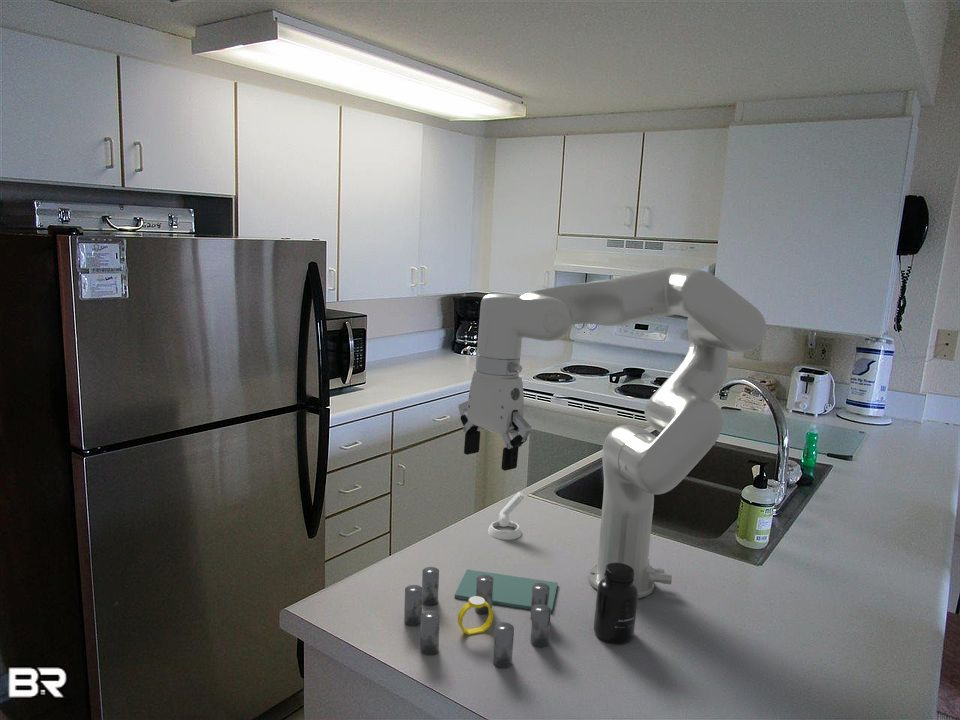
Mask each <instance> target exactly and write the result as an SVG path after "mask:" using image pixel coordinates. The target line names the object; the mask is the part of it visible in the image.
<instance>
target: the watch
mask: <svg viewBox="0 0 960 720" xmlns="http://www.w3.org/2000/svg"><path fill="white" fill-rule="evenodd" d="M483 606H486V607H488V609H489V614H488V616H487V618H486V621H485V622H484V623H483V624H482V625H481V626H478V627H472V628H468V629H467V628H465V627H464V626H463V619H464V616H465V614H466V613H467V611H469V610H470V609H471V608H474V609H475V608H481V607H483ZM493 620H494V609H493V608H492V609H491V607H490V606H489V604H488V603H487V602H486V601H485V599H484V598H482V597H479V596H473V597H470V598H469V600H468V601H467V602H465V604H463V606H462V607H461V608H460V610H459V611H458V614H457V624H458V626H459V628H460V630H461V631H462V633H464V634H466V635H467V636H473V635H476V634H482V633H483V634H484V633H485V632H487V631H488V629H490V627H491V626H492V623H493Z"/></svg>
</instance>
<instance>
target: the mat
mask: <svg viewBox="0 0 960 720" xmlns="http://www.w3.org/2000/svg"><path fill="white" fill-rule="evenodd" d="M480 575H489V576H491V577H493V598H492V605H499V606H505V607H512V608H518V609H519V608H520V609H524V610H525V609H526V610H531V601H532V586H533V585H534V584H535V583H544V584H547V585H548V586H549V587H550V589H549V604H548V606H549V607H550V609H551V614H552V613H553V610H554V609H553V607H554V603H555V600H556V594H557V589H558V584H559V583H558V582H557V581H556V582H555V581H548V580H544V579H543V580H542V579H536V578H530V577H529V578H528V577H523V576H515V575H508V574H501V573H500V574H499V573H494V572H487V571H480V570H475V569H474V570H473V569H468V568H467V569H466V571H465V573H464V574H463V577H462V579H461V580H460V582H459V585H458V587H457V589H456V591H455V594H454V599H461V600H467V601H469V598H470V597H473V596H476V581H477V577H478V576H480Z"/></svg>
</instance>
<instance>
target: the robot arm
mask: <svg viewBox="0 0 960 720" xmlns="http://www.w3.org/2000/svg"><path fill="white" fill-rule="evenodd" d="M479 309H480V310H479V320H478V322H479V323H478V332H477V333H478V334H477V348H476V360H475V370H473V372H472V373H473V374H472V378H471V382H470V387H469V392H468V397H467V399H468V400H466V401H465V402H462V403H460V404H458V411H459V414H460V422H461V423H462V431H463V432H464V433H465V435H464V447H463V454H464V455H467V456H468V455H472V454H478V453H479V451H480V446H481V445H480V442H481V431H480V430H479V429H481V430H482V429H483V430H485V431H488V432H491V433H494V434H496V435H499V436H501V438H502V440H503V442H504V444H505V447H503V448H502V458H501V470H503V471H505V472H506V471H509V470H514V469H516V468H517V467H518V459H519V458H518V457H519V449H520V448H521V447H522V446H523V444H524V443H525V442H526V441H528V437H529V435H530V434H531V432H532V430H533V429H532V425H530V424H529V423H528V421H527V420H526V419H525V418H524V407H525V405H524V402H525V400H524V397H525V395H524V394H525V393H524V384H523V378H522V377H523V376H522V377H521V376H520V375H519V374H520V373H522V370H523V367H522V365H521V364H520V363H521V355H522V354H521V353H522V352H521V351H522V343H523V338H525V339H531V340H537V341H542V342H554V341H558V340H560V339H563V338H565V336H567V335H568V334H569V332H570V331H571V329H572V327H573V325H579V324H580V325H581V324H583V325H585V324H586V325H595V326H596V325H597V326H605V327H608V326H609V327H613V326H619V327H620V326H626V325H630V324H636V323H640V322H644V321H650V320H652V319H653V320H655V319H659V318H664V317H669V316H674V315H675V316H681V317H686V318H687V323H686V324H687V333H688V334H687V335H688V346H687V352H686V355H685V357H684V359H683V360H682V361H681V363H680V364H679V365H678V367H677V368H676V369H675V370H674V371H673V372H672V374H670V376H669V377H668V378H667V379H666V380H665V381H664V382H663V383H662V384H661V386H660V387H659V388H658V389H657V390H656V391H655V392H654V393H653V394H652V395H651V396H650V398H649V400H648V401H647V402H646V405H645V406H644V407H645V408H644V418H645V420H646V422H647V423H648V425H650V426H651V427H652V428H653V429H654V430H656V431H657V432H659V434H658V435H657V436H656V435H655V434H653V433H651V432H650V431H647V430H646V429H644V428H642V427H640V426H638V425H633V424H622V425H619V426H617V427H615V428H613V429H612V430H610V432H609V433H608V434H607V436H606V437H605V440H604V441H603V445H602V452H601V457H602V458H601V460H602V472H603V495H602V507H601V518H600V520H601V521H600V531H599V541H598V544H599V545H598V553H597V554H598V556H597V565H595V566H593V567H591V569H590V570H589V571H588V582H589V584H590V585H591V586H592V587H593V588H594V589H595V590H597V588H598V584H599V582H600V581H601V580H602V579H603V578H604V573H605V568H606V565H608V564H609V563H623V564H626V565H629V566H630V567H631V568H633V569H634V582H633V583H634V584H635V585H636V587H637V589H638V599H641V598H645V597H647V596H649V595H650V594H651V593H652V592H653V591H654V588H655V583H660V584H662V585H663V584H664V585H672V579H673V578H672V577H673V576H672V573H665V568H662V567H653V565H650V559H649V556H650V545H651V544H650V542H651V535H652V526H653V525H652V523H653V516H654V515H653V513H654V504H655V503H654V502H655V495H663V494H666V493H668V492H670V491H672V490H673V489H674V488H675V487H677V486H678V485H679V484H680V483H681V482H682V481H683V480H684V479H685V478H686V477H687V475H688V474H689V473H690V472H691V471H692V470H693V469H694V468H695V466H697V464H698V463H699V462H701V461H702V459H703V458H704V457H705V456H706V455H707V453H709V451H710V450H711V448H713V446H714V445H715V444H716V442H717V440H718V439H719V437H720V435H721V432H722V429H723V423H724V421H723V420H724V417H723V414H722V410H721V408H720V406H718V404H717V403H716V402H715V401H714V400H712V399H713V398H714V396H715V395H716V394H717V393H718V392H719V390H720V389H721V388H722V386H723V384H724V383H725V380H726V378H727V374H728V371H729V369H728V368H729V351H730V352H732V353H733V352H734V353H741V354H742V353H749V352H752V351H754V350H755V349H757V348H758V347H759V346H760V345H761V344H762V343H763V342H764V340H765V338H766V334H767V322H766V320H765V319H766V318H764V315H763V314H762V312H761V311H760V310H759V309H758V308H757V307H756V306H755V305H753V304H752V303H751V302H749V301H748V300H747V299H746V298H744V297H743V296H742V295H740V294H739V292H737V291H735V290H734V289H733V288H732V287H730V286H729V285H728V284H726V283H725V282H724V281H722V279H720V278H718V277H717V276H715V275H714V274H713V273H711V272H708V271H706V270H703V269H693V268H683V267H669V268H663V269H658V270H652V271H647V272H643V273H638V274H632V275H627V276H623V277H622V276H621V277H615V278H609V279H601V280H595V281H588V282H583V283H574V284H573V283H572V284H566V285H558V286H553V287H548V288H542V289H538V290H537V289H536V290H533V291H532V290H531V291H527V292H526V293H524V294H522V295H520V296H518V295H512V294H505V293H504V294H503V293H489V294H486V295H484V296H483V297H482V299H481V302H480V308H479Z"/></svg>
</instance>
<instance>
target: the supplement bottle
mask: <svg viewBox="0 0 960 720" xmlns="http://www.w3.org/2000/svg"><path fill="white" fill-rule="evenodd" d="M633 582H634V569H633V568H631V567H630V566H629V565H626V564H623V563H609V564H608V565H606V568H605V573H604V578H603V579H602V580H601V581H600V582H599V584H598V588H597V589H596V598H595V600H596V601H595V609H594V620H593V631H594V633H595V635H596V636H597V637H598V638H599V639H600V640H602V641H604V642H606V643H608V644H614V645H621V644H622V645H624V644H627V643H629V642H630V641H631V640H632V639H633V637H634V634H635V626H636V618H637V608H638V599H639V598H638V589H637V587H636V585H635V584H634V583H633Z"/></svg>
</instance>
